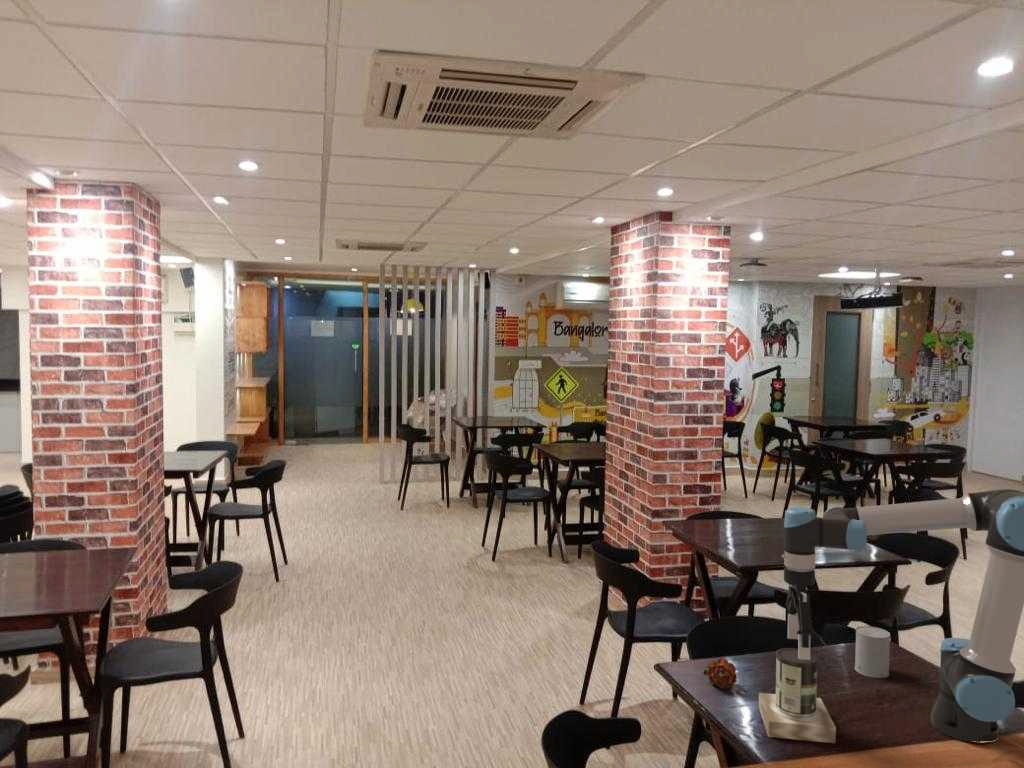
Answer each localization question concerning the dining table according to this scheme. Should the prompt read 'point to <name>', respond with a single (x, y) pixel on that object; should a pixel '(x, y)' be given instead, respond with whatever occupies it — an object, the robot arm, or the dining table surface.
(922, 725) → the dining table surface
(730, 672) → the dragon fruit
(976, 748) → the dining table surface
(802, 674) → the coffee can
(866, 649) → the white cylinder
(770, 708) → the stand
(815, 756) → the dining table surface
